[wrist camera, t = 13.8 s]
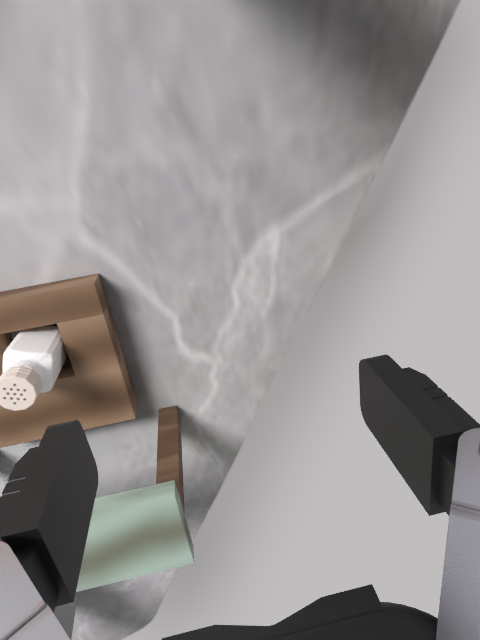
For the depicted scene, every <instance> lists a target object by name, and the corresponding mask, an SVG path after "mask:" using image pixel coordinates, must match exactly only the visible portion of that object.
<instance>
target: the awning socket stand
mask: <svg viewBox="0 0 480 640" xmlns="http://www.w3.org/2000/svg"><path fill="white" fill-rule="evenodd" d="M56 323H57V326H58V328H59V331H60V334H61V337H62V339H63V342H64V345H65V348H66V351H67V353H68V356H69V359H70V362H71V363H69V364H64V365H63V366H62V368H61V371H60V373H59V375H58V377H57V379H56V381H55V383H54V386H53V388H52V389H51V390H50V391H48V392H45V393H39V395H38V397H37V399H36V401H35V403H34V404H33V405H31V406H30V407H28V408H27V409H24V410H18V411H14V410H10V409H6V408H4V407H2V406H1V405H0V448H2V447H7V446H11V445H16V444H21V443H25V442H30V441H34V440H39V439H42V438H43V435H44V433H45V430H46V428H47V427H48V426H49V425H54V424H59V423H63V422H68V421H73V420H78V421H79V422H80V423H81V425H82V428H83V430H86V429H90V428H95V427H100V426H104V425H109V424H113V423H118V422H123V421H127V420H132V419H136V411H137V403H138V402H137V399H136V395H135V392H134V389H133V385H132V382H131V379H130V375H129V372H128V369H127V365H126V362H125V359H124V355H123V352H122V349H121V345H120V342H119V339H118V335H117V332H116V329H115V325H114V322H113V318H112V315H111V312H110V308H109V305H108V302H107V298H106V295H105V292H104V288H103V285H102V282H101V278H100V275H99V274H94V275H89V276H84V277H78V278H73V279H67V280H62V281H57V282H51V283H46V284H41V285H35V286H30V287H24V288H19V289H14V290H8V291H3V292H0V376H1V375H2V373H3V372H2V364H3V354H4V352H5V350H6V349H7V347H8V346H9V345H10V344H11V342H12V338H11V336H10V334H9V333H10V332H15V331H20V330H25V329H31V328H36V327H41V326H46V325H51V324H56ZM193 563H194V553H193V544H192V540H191V537H190V533H189V530H188V526H187V522H186V519H185V515H184V493H183V469H182V445H181V421H180V416H179V412H178V408H177V406H173V407H168V408H163V409H159V421H158V448H157V476H156V484H155V485H151V486H146V487H142V488H137V489H133V490H129V491H124V492H120V493H116V494H111V495H107V496H103V497H98V498H95V501H94V506H93V511H92V516H91V521H90V526H89V531H88V535H87V540H86V545H85V550H84V555H83V560H82V565H81V570H80V574H79V579H78V584H77V589H76V592H79V591H83V590H87V589H91V588H95V587H99V586H103V585H107V584H111V583H115V582H119V581H123V580H127V579H132V578H136V577H140V576H144V575H148V574H152V573H156V572H160V571H164V570H168V569H172V568H176V567H180V566H184V565H188V564H193Z"/></svg>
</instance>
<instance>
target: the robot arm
mask: <svg viewBox="0 0 480 640" xmlns="http://www.w3.org/2000/svg"><path fill="white" fill-rule="evenodd" d="M359 380H360V381H359V382H360V406H361V411H362V415H363V418H364V420H365V423H366V425H367V426H368V427H369V429H370V431H371V432H372V433H373V435H374V436H375V438H376V439H377V441H378V442H379V444H380V445H381V446H382V448H383V449H384V451H385V452H386V454H387V455H388V457H389V458H390V460H391V461H392V462H393V464H394V465H395V467H396V468H397V470H398V471H399V473H400V474H401V475H402V477H403V478H404V479H405V481H406V483H407V484H408V486H409V487H410V488H411V490H412V491H413V493H414V494H415V495H416V497H417V499H418V500H419V501H420V503H421V504H422V506H423V507H424V509H425V510H426V512H427V513H428V514H429V516H430V515H434V514H438V513H442V512H447V514H448V515H449V525H448V534H447V543H446V551H445V561H444V569H443V578H442V587H441V597H440V606H439V615H438V618H436V617H434V616H432V615H430V614H428V613H426V612H423V611H420V610H418V609H416V608H412V607H408V606H405V605H401V604H395V603H389V602H380V601H379V599H378V597H377V594H376V592H375V590H374V588H373V586H372V584H371V585H367V586H364V587H360V588H356V589H352V590H348V591H344V592H340V593H336V594H332V595H329V596H325V597H321V598H320V599H318V600H316V601H315V602H313V603H311V604H309V605H308V606H306V607H305V608H303V609H301V610H299V611H298V612H296V613H294V614H292V615H291V616H289V617H287V618H286V619H284V620H282V621H281V622H279V623H277V624H275V625H272V626H238V625H213V626H209V627H205V628H201V629H198V630H193V631H189V632H186V633H182V634H178V635H174V636H170V637H166V638H163V639H162V640H480V424H479V423H477V422H476V421H475V420H474V419H473V418H472V417H471V416H470V415H469V414H468V413H467V412H466V411H464V410H463V409H462V408H461V407H460V406H459V405H458V404H457V403H456V402H455V401H454V400H452V399H451V398H450V397H448V396H447V394H446V393H445V392H444V391H443V390H442V389H440V388H438V386H437V385H436V384H435V383H434V382H433V381H432V380H431V379H429V377H427V376H426V375H425V374H422V373H420V372H418V371H416V370H414V369H411V368H409V367H408V368H404V369H402V368H401V367H400V366H399V365H398V364H397V363H396V362H395V361H394V360H393V359H392V358H391V357H390V356H388V355H382V356H377V357H373V358H367V359H363V360H361V361H360V363H359ZM8 481H9V483H7V484H6V486H5V488H4V490H3V492H2V497H0V640H70V639H69V637H68V635H67V634H66V632H65V631H64V629H63V628H62V626H61V624H60V623H59V621H58V620H57V618H56V616H55V615H54V610H55V607H56V606H60V605H64V604H68V603H72V602H74V599H75V594H76V589H77V584H78V579H79V574H80V570H81V565H82V560H83V555H84V550H85V545H86V540H87V535H88V531H89V526H90V521H91V516H92V511H93V506H94V501H95V496H96V491H97V486H98V471H97V466H96V462H95V459H94V457H93V454H92V451H91V449H90V446H89V443H88V441H87V438H86V436H85V433H84V430H83V428H82V425H81V423H80V422H79V421H78V420H73V421H68V422H63V423H59V424H54V425H49V426H48V427H47V428H46V430H45V433H44V435H43V438H42V440H41V442H40V445H39V447H35V448H31V449H29V450H28V452H27V453H26V454H25V455H24V456H23V457H22V458H21V459H20V460H19V461H18V462H17V463H16V465H15V467H14V469H13V471H12V473H11V475H10V477H9V480H8Z"/></svg>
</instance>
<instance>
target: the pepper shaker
mask: <svg viewBox="0 0 480 640" xmlns="http://www.w3.org/2000/svg"><path fill="white" fill-rule="evenodd" d="M65 360H66V348H65V345H64V342H63V339H62V337H61V334H60V331H59V328H58V326H49V325H46V326H41V327H36V328H31V329H25V330H21V331H20V332H19V333H18V334H17V336H16V337H15V338H14V340H13V341H12V342H11V344H10V345H9V346H8V347H7V349H6V350H5V352H4V354H3V364H2V372H3V373H2V375H1V376H0V405H1V406H2V407H4V408H6V409H10V410H14V411H18V410H24V409H27V408H28V407H30V406H31V405H33V404H34V403H35V401H36V399H37V397H38V395H39V393H45V392H48V391H50V390H51V389H52V388H53V386H54V383H55V381H56V379H57V377H58V375H59V373H60V371H61V368H62V366H63V364H64V362H65Z"/></svg>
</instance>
